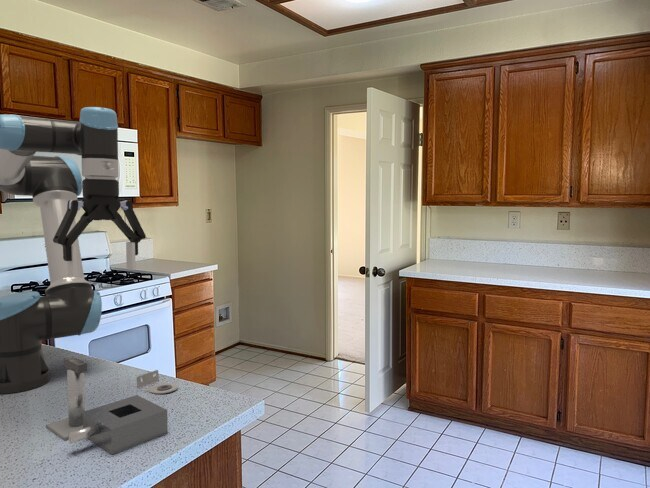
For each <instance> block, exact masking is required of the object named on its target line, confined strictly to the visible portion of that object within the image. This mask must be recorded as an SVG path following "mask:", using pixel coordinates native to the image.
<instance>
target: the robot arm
mask: <svg viewBox="0 0 650 488" xmlns="http://www.w3.org/2000/svg"><path fill="white" fill-rule="evenodd" d="M79 114H80V115H79V121H73V120H67V119H66V120H63V119H56V118H55V119H53V118H45V117H36V116H27V115H25V116H24V115H18V114H0V192H3V193H6V194H9V195H13V196H23V197H24V196H26V197H27V196H28V197H29V196H30V197H31V196H32V203H33V204H34V205H36V206H37V207H39V208H40V216H41V217H40V218H41V222H42V224H41V225H42V230H43V231H42V232H43V237H44V245H45V247H44V248H45V251H46V254H45V255H46V260H47V269H48V274H49V282H50V285H48V287H47V288H46V289H45V291H44V292H45V296H44V295H43V296H42V295H41V294H40V292H38V291H33V290H32V291H20V292H16V293H15V292H14V293H11V294H6V295H3V296H0V394H12V393H20V392H25V391H29V390H33V389H36V388H38V387H41V386H43V385H45V384H47V383H48V382H49V381H50V380H51V371H50V367H49V364H48V363H47V360H46V358H45V356H44V353H43V350H42V349H43V348H42V342H43V341H45V340H54V339H61V338H65V337H66V338H67V337H73V336H74V337H75V336H79V337H80V336H81V335H85V334H90V333H94V332H95V331H97V328H98V327H99V325H100V322H101V319H102V311H103V310H102V309H103V307H102V306H103V305H102V304H103V303H102V296H101V294H100V292H99V291H98V290H93V288H92V286H93V285H92V284H91V282H89V281H88V280H86V279H85V275H84V273H85V272H84V269H83V267H84V266H83V261H82V256H81V248H80V243H79V242H80V240H79V237H80V236H81V234H83V232H84V231H85V229H86V228H87V227H88V226H89V224H90V223H92V222H93V221H112V222H113V223H114V224H115V225H116V226H117V228H118V229H119V230H120V231H121V233H123V235H124V236H125V237H126V238H127V240H129V241H126V242H125V246H126V249H125V251H126V253H125V254H126V257H125V258H126V259H125V260H126V270H129V271H136V256H138V255H139V243H140V242H141V241H142V240H145V239H146V237H147V235H146V233H145V232H144V229H143V228H142V225H141V223H140V221H139V218H138V217H137V215H136V213H135V211H134V206H133V201H132V200H128V199H127V200H122V201H120V200H119V196H120V183H119V182H120V181H118V180H117V178H119V158H118V157H119V138H118V134H119V133H118V130H119V125H118V117H117V116H118V115H117V113H116V111H115V110H114V109H111V108H107V107H100V106H86V107H83V108H81V110H80V113H79ZM36 152H38V153H53V154H55V153H57V154H67V155H68V154H70V155H71V154H73V155H77V156H81V171H80V168H79V165H78V163H77V162H76V161H75V160H73V158H70V157H64V156H63V157H62V156H59V155H58V156H57V155H55V156H47V155H46V156H44V155H35V154H36ZM82 178H84V179H82ZM81 195H82V201H79V200H78V197H79V196H81ZM81 208H82V209H83V210H84V212H83V214H82V215H81V216H80V218H79V220H78V221H77V223H76V216H77V214H78V211H80V210H81ZM120 209H121V210H122V211H123V215H124V216H125V217H126V220H127V222H128V224H129V225H128V224H127V222H126V221H125V220H124V219H123V216H122V215H121V214H120V212H118V211H119V210H120Z"/></svg>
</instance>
